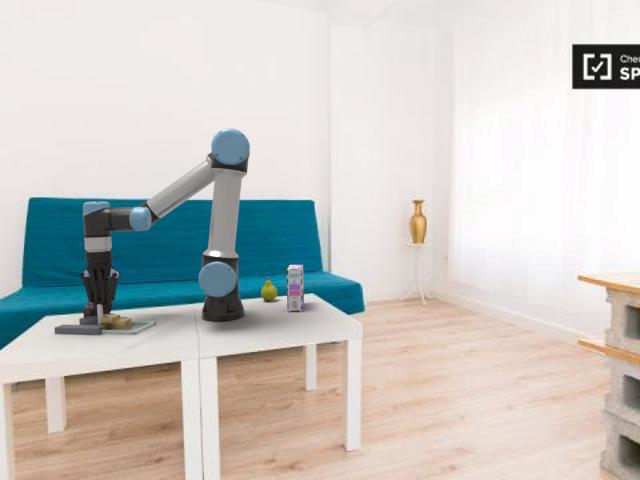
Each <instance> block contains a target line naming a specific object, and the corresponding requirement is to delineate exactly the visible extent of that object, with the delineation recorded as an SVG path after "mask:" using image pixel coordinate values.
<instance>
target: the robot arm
mask: <svg viewBox="0 0 640 480" xmlns="http://www.w3.org/2000/svg"><path fill="white" fill-rule="evenodd" d="M210 143H211V145H210V148H211V152H209V153H208V154H206V158H205V160H204V161H202V162H201V163H199V164H198V165H196V166H195V167H194V168H192V169H191V170H189V171H188V172H187V173H185V174H183V175H182V176H181V177H180V178H178V179H176V180H175V181H173V182H172V183H170V184H169V185H168V186H167V187H164V189H162V190H161V191H159V192H158V193H156V194H155V195H153V196H152V197H151V198H149V199H148V200H146V201H145V202H144V203H141V205H138V206H133V207H131V206H130V207H111V205H110V202H108V201H86V202H84V203H83V206H82V221H83V235H84V250H85V251H86V252H85V253H84V254H85V264H86V265H87V266H86V269H85V271H82V272H80V273H79V276H80V278H81V279H82V282H83V286H84V289H85V293H86V296H87V300H88V301H89V302H92V303H94V304H95V312H96V314H98V325H101V317H103V316H106V315H108V313H109V303H110V302H114V301H115V300H116V295H117V287H118V283H119V278H120V276H121V274H122V273H121V271H116V270H115V269H114V266H113V263H112V262H113V251H112V247H113V246H112V245H113V244H112V232H133V231H134V232H143V231H149V230H150V229H151V227H153V226H154V224H155V223H156V222H158V221H159V220H161V218H163V217H165V216H166V215H167V214H169V213H171V212H172V211H173V210H175V209H176V208H177V207H179V206H180V205H182V204H184V203H185V202H186V201H188V200H190V198H192V197H193V196H195V195H196V194H197V193H199V192H201V191H202V190H203V189H205V188H207V187H208V186H209V185H210V184H212V183H213V182H214V183H213V185H214V186H213V194H212V195H213V196H212V205H211V214H210V215H211V216H210V223H209V224H210V225H209V237H208V246H207V249H206V250H205V251H204V252H202V256H201V257H202V258H201V268H200V269H201V270H200V271H199V273H198V284H199V287H200V289H201V290H202V291H203V293H205V299H204V304H203V306H202V310H201V319H202V320H205V321H209V322H224V321H232V320H237V319H240V318H243V317H244V316H245V308H244V307H245V306H244V305H243V302H242V299H241V296H240V292H239V291H240V288H239V287H240V286H239V258H240V256H239V254H238V253H237V252H236V242H237V241H236V239H237V229H238V219H239V211H240V200H241V199H240V198H241V190H242V182H243V181H242V180H243V178H244V177H245V176H247V175H248V166H249V158H250V153H251V147H250V142H249V139H248V137H247V136H246V134H244V133H243V132H242V131H240V130H239V129H235V128H231V127H230V128H229V127H227V128H224V129H221V130H219V131H218V132H216V133H215V135H214V136H213V138H212V140H211V142H210ZM109 314H110V313H109Z"/></svg>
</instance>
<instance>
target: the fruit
mask: <svg viewBox="0 0 640 480" xmlns="http://www.w3.org/2000/svg"><path fill="white" fill-rule="evenodd" d="M264 275H265V276H266V277H267V280H266V281H265V283H264V286H263V287H262V289H261V290H260V295H261V297H262V299H263V300H264V301H265V302H273V301H274V300H276V298H277V297H278V289H277V287H276V286H274V285H273V283H272V281H271V280H270V279H269V277H268V275H267V274H266V273H264Z"/></svg>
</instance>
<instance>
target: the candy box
mask: <svg viewBox="0 0 640 480" xmlns="http://www.w3.org/2000/svg"><path fill="white" fill-rule="evenodd" d="M304 285H305V283H304V264H289V266H288V267H287V269H286V296H287V297H286V299H287V302H286V303H287V304H286V305H287V312H288V313H289V312H291V313H292V312H293V313H294V312H297V313H298V312H299V313H300V312H303V309H304V306H305V291H304V290H305V286H304Z"/></svg>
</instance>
